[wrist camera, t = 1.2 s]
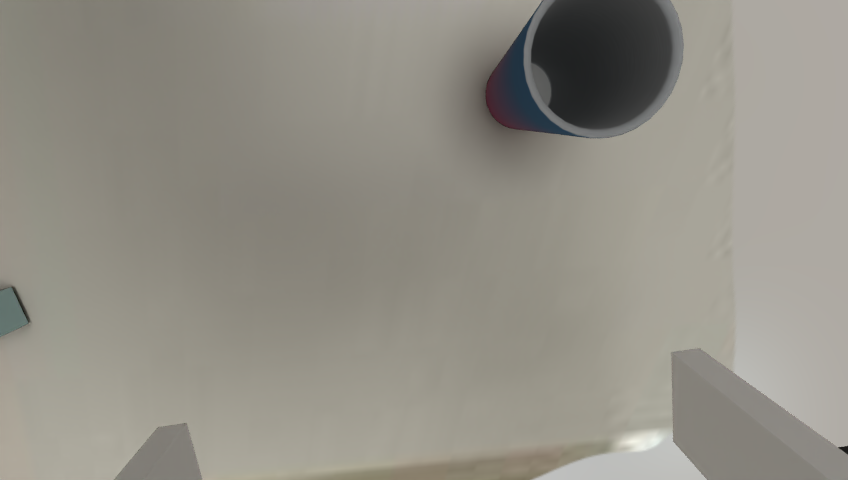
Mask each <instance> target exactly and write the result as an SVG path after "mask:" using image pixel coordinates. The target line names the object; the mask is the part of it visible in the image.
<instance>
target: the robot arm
mask: <svg viewBox="0 0 848 480" xmlns="http://www.w3.org/2000/svg"><path fill="white" fill-rule="evenodd" d="M671 356H672V404H673V442H674V443H675V444H676V445H677V446H678V447H679V448H680V450H681V451H682V452H683V453H684V454H685V455H686V456H687V458H688V459H689V460H690V461H691V462H692V463H693V464H694V465H695V467H696V468H697V469H698V470H699V471H700V472H701V473H702V474H703V475H704V477H705V478H706V479H707V480H848V446H845V447H836V446H835V445H834V444H832V443H831V442H829V441H828V440H827V439H825V438H824V437H822V436H821V435H819V434H818V433H817V432H815V431H814V430H813V429H811V428H810V427H808V426H807V425H806V424H804V423H803V422H801V421H800V420H799V419H797V418H796V417H795V416H793V415H792V414H790V413H789V412H788V411H786V410H785V409H783V408H782V407H781V406H779V405H778V404H776V403H775V402H774V401H772V400H771V399H769V398H768V397H767V396H765V395H764V394H762V393H761V392H760V391H758V390H757V389H756V388H754V387H753V386H751V385H750V384H749V383H747V382H746V381H744V380H743V379H742V378H740V377H739V376H737V375H736V374H735V373H733V372H732V371H730V370H729V369H728V368H726V367H725V366H723V365H722V364H721V363H719V362H718V361H716V360H715V359H714V358H712V357H711V356H709V355H708V354H707V353H705V352H704V351H703V350H701V349H700V348H697V349H690V350H684V351H677V352H671ZM114 480H202V476H201V473H200V469H199V465H198V462H197V458H196V455H195V451H194V447H193V444H192V440H191V437H190V433H189V429H188V426H187V423H184V424H177V425H170V426H163V427H158V428H157V429H156V430H155V431H154V433H153V434H152V435H151V436H150V437H149V439H148V440H147V441H146V442H145V443H144V445H143V446H142V447H141V448H140V449H139V450H138V452H137V453H136V454H135V455H134V456H133V458H132V459H131V460H130V461H129V462H128V464H127V465H126V466H125V467H124V468H123V469H122V471H121V472H120V473H119V474H118V475H117V477H116V478H115V479H114Z"/></svg>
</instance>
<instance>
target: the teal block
mask: <svg viewBox="0 0 848 480" xmlns="http://www.w3.org/2000/svg"><path fill="white" fill-rule="evenodd" d="M26 324H28V321H27V319H26V317H25V315H24V313H23V311H22V308H21V306H20V304H19V302H18V300H17V298H16V296H15V294H14V291H13V289H12V287H11V288H7V289H3V290H0V337H1V336H3V335H5V334H7V333H9V332H11V331H14V330H16V329H18V328H20V327H22V326H24V325H26Z"/></svg>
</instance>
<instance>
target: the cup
mask: <svg viewBox="0 0 848 480" xmlns="http://www.w3.org/2000/svg"><path fill="white" fill-rule="evenodd" d="M683 48H684V44H683V34H682V27H681V24H680V21H679V17H678V14H677V12H676V10H675V8H674V6H673V4H672V3H671V1H670V0H543V1H542V2H541V4H540V5H539V7H538V8H537V9H536V11H535V12H534V14H533V15H532V17H531V18H530V19H529V21H528V22H527V24H526V25H525V27H524V28H523V30H522V31H521V32H520V34H519V35H518V37H517V38H516V40H515V41H514V43H513V44H512V45H511V47H510V48H509V50H508V51H507V53H506V54H505V56H504V57H503V58H502V60H501V61H500V63H499V64H498V66H497V67H496V68H495V70H494V71H493V73H492V75H491V76H490V78H489V80H488V83H487V87H486V102H487V106H488V109H489V111H490V113H491V114H492V116H493V117H494V118H495V119H496V120H497V121H498V122H499V123H501V124H502V125H504V126H506V127H508V128H513V129H519V130H528V131H536V132H544V133H552V134H561V135H569V136H577V137H585V138H609V137H613V136H618V135H622V134H624V133H627V132H629V131H631V130H633V129H636V128H637V127H639V126H640V125H642V124H643V123H645V122H646V121H648V120H649V119H650V118H651V117H652V116H653V115H654V114H655V113H656V112H657V111H658V110H659V109H660V108H661V107H662V106H663V104H664V103H665V102H666V100H667V99H668V97H669V96H670V94H671V93H672V90H673V88H674V86H675V84H676V82H677V80H678V77H679V73H680V69H681V65H682V60H683Z"/></svg>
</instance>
